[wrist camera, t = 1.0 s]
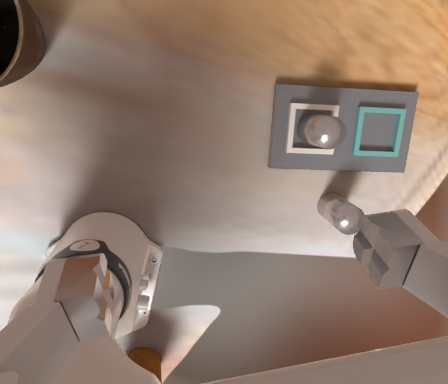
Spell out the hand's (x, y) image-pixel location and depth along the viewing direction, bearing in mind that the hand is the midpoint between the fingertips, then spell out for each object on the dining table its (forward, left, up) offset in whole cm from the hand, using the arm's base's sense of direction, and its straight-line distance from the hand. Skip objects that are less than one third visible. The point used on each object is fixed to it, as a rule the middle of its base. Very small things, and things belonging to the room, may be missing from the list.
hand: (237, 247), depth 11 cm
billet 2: (-11, -23, -45) cm, 52 cm away
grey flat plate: (+2, -23, -45) cm, 51 cm away
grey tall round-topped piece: (+2, -17, -44) cm, 47 cm away
